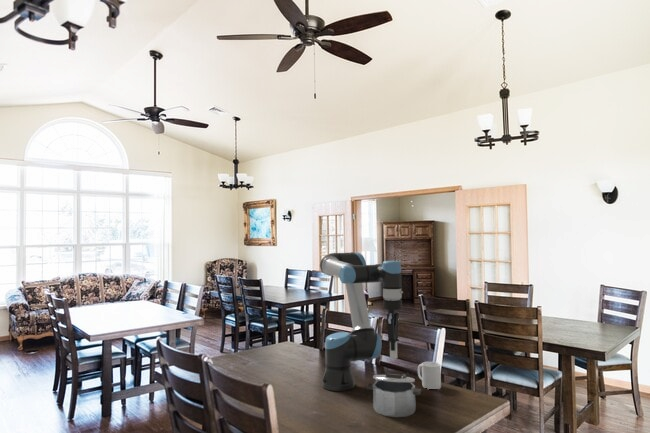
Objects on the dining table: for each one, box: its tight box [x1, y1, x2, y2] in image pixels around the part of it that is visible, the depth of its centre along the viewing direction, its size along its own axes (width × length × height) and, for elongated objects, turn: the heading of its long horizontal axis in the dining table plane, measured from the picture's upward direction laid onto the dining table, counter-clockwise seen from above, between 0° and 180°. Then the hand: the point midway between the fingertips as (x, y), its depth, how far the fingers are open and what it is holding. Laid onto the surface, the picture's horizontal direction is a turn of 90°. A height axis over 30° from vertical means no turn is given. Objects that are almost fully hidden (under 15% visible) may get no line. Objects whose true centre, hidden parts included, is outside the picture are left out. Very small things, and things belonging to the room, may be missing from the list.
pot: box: [366, 380, 422, 418], centre depth 163 cm, size 21×17×9 cm
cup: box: [417, 361, 442, 390], centre depth 188 cm, size 8×12×10 cm
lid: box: [372, 373, 416, 383], centre depth 164 cm, size 16×17×2 cm
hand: (393, 357), depth 166 cm, fingers closed
